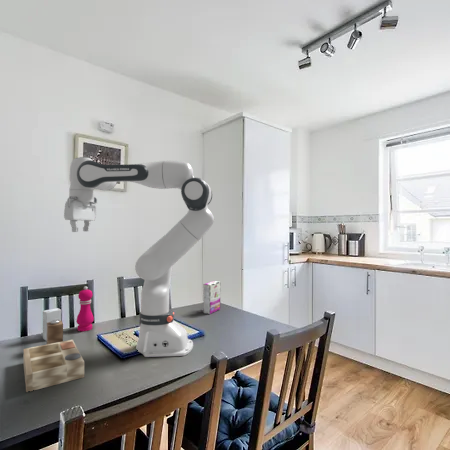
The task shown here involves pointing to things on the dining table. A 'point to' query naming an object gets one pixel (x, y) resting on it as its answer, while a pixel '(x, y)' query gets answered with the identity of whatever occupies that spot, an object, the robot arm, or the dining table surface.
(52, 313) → the skincare box
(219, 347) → the dining table surface
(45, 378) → the tag socket block
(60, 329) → the plug
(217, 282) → the candy bar box
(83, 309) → the pepper mill
